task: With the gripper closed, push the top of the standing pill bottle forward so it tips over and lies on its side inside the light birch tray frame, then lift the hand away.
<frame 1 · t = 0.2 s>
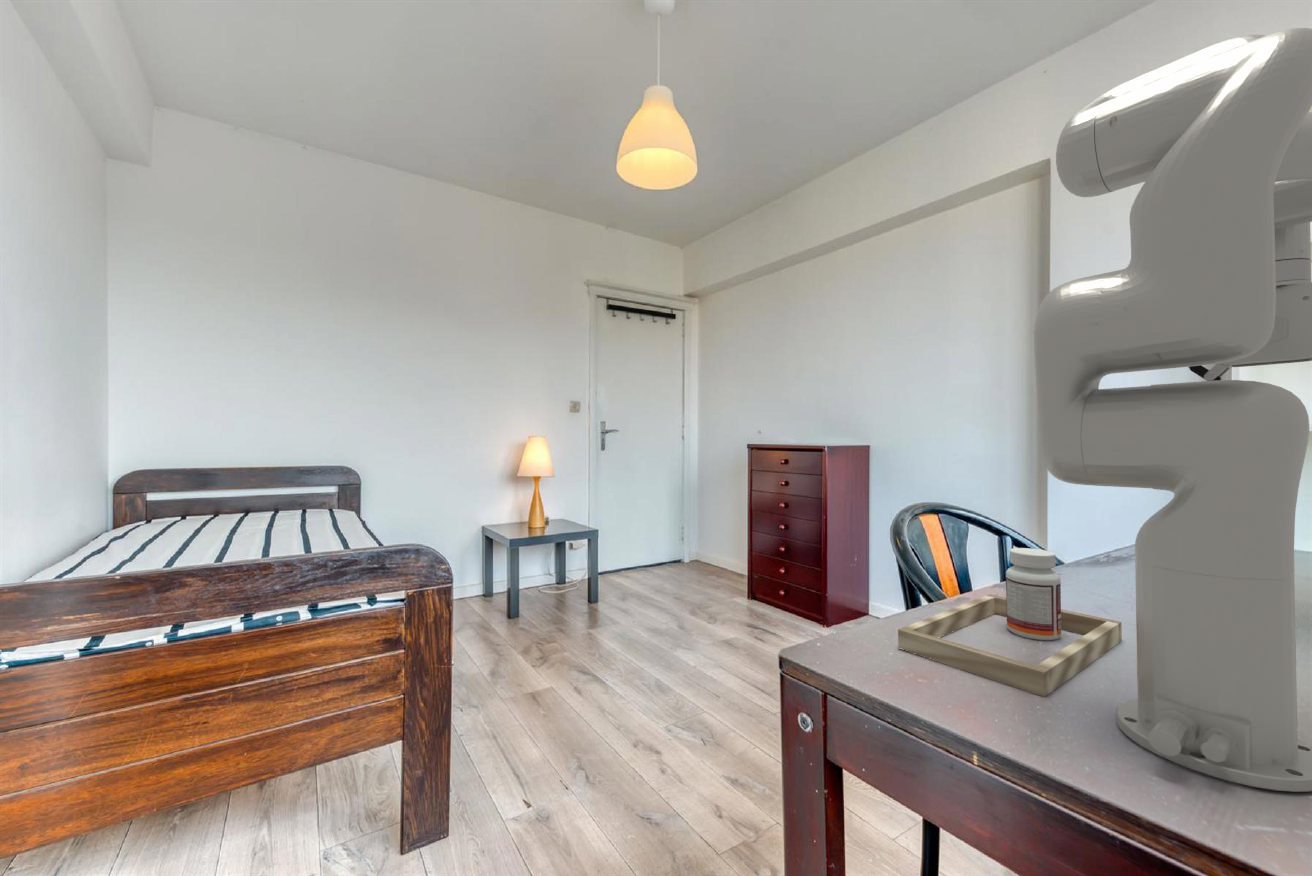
hand: (1270, 406, 72), 31 cm above the table, tool pointing down, fingers open, 9 cm apart
pill bottle: (1033, 634, 73), resting in tray frame
tray frame: (1011, 644, 69), on the table
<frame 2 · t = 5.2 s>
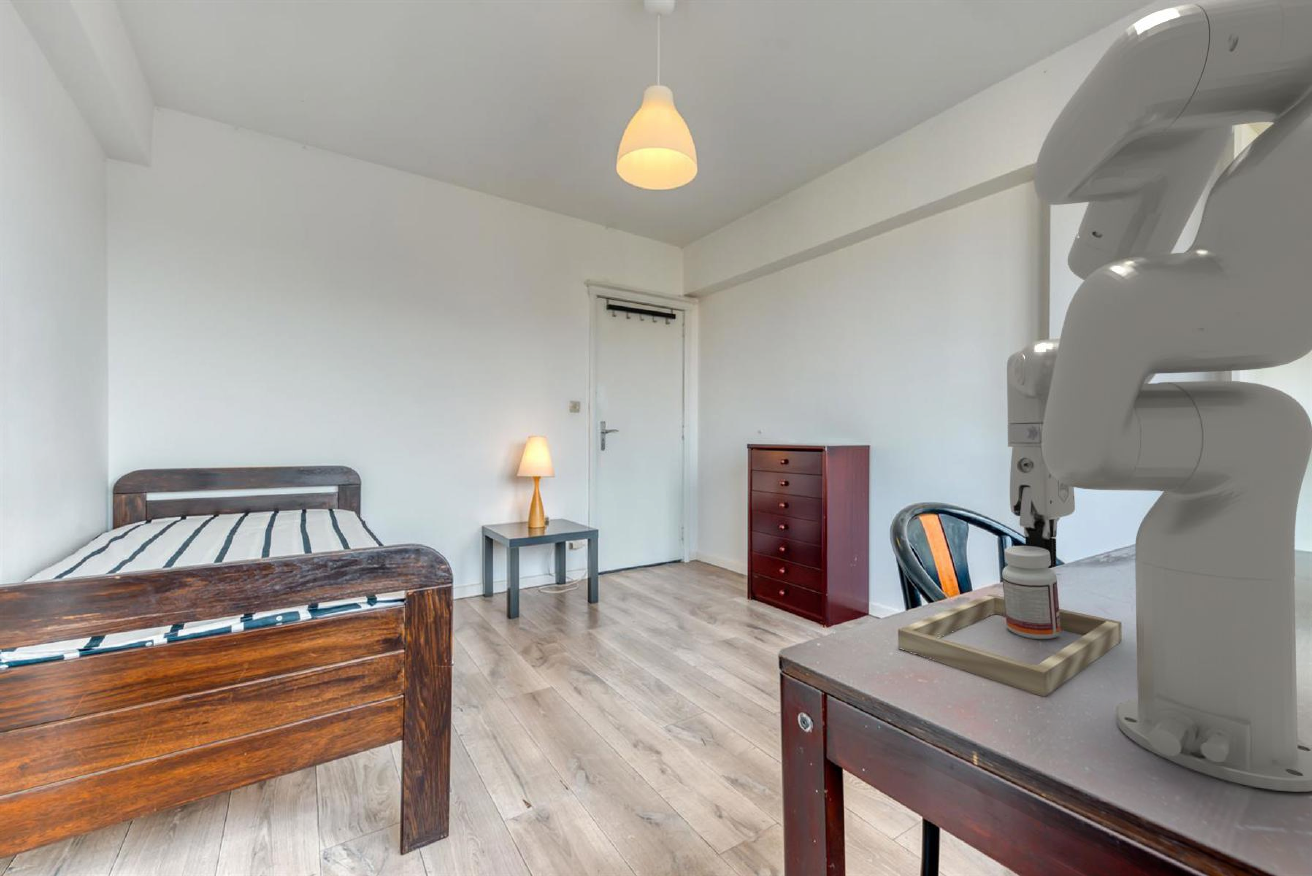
hand: (1040, 565, 75), 9 cm above the table, tool pointing down, fingers closed
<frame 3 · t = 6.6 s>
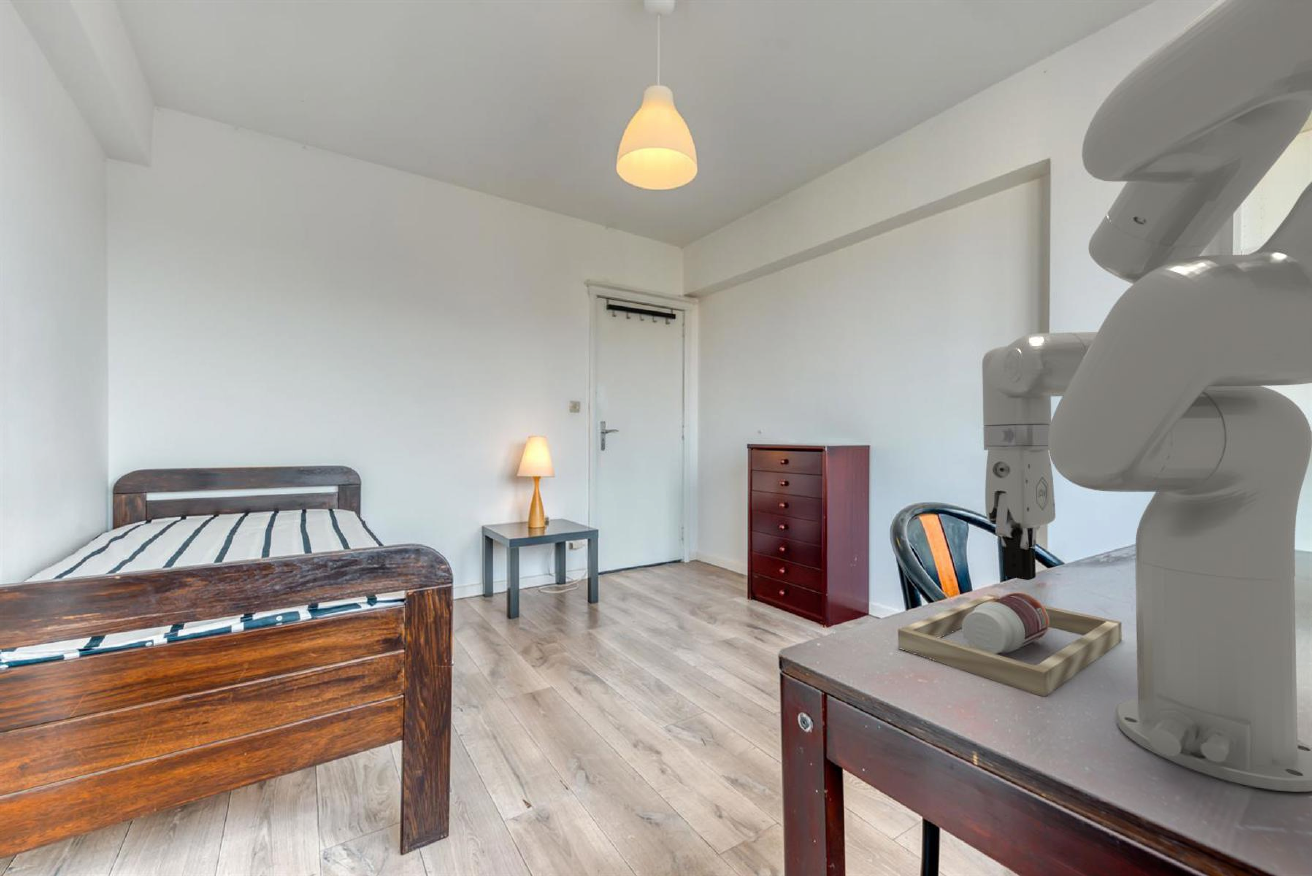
hand: (1019, 577, 70), 8 cm above the table, tool pointing down, fingers closed
pill bottle: (1025, 615, 72), point 3 cm above the table
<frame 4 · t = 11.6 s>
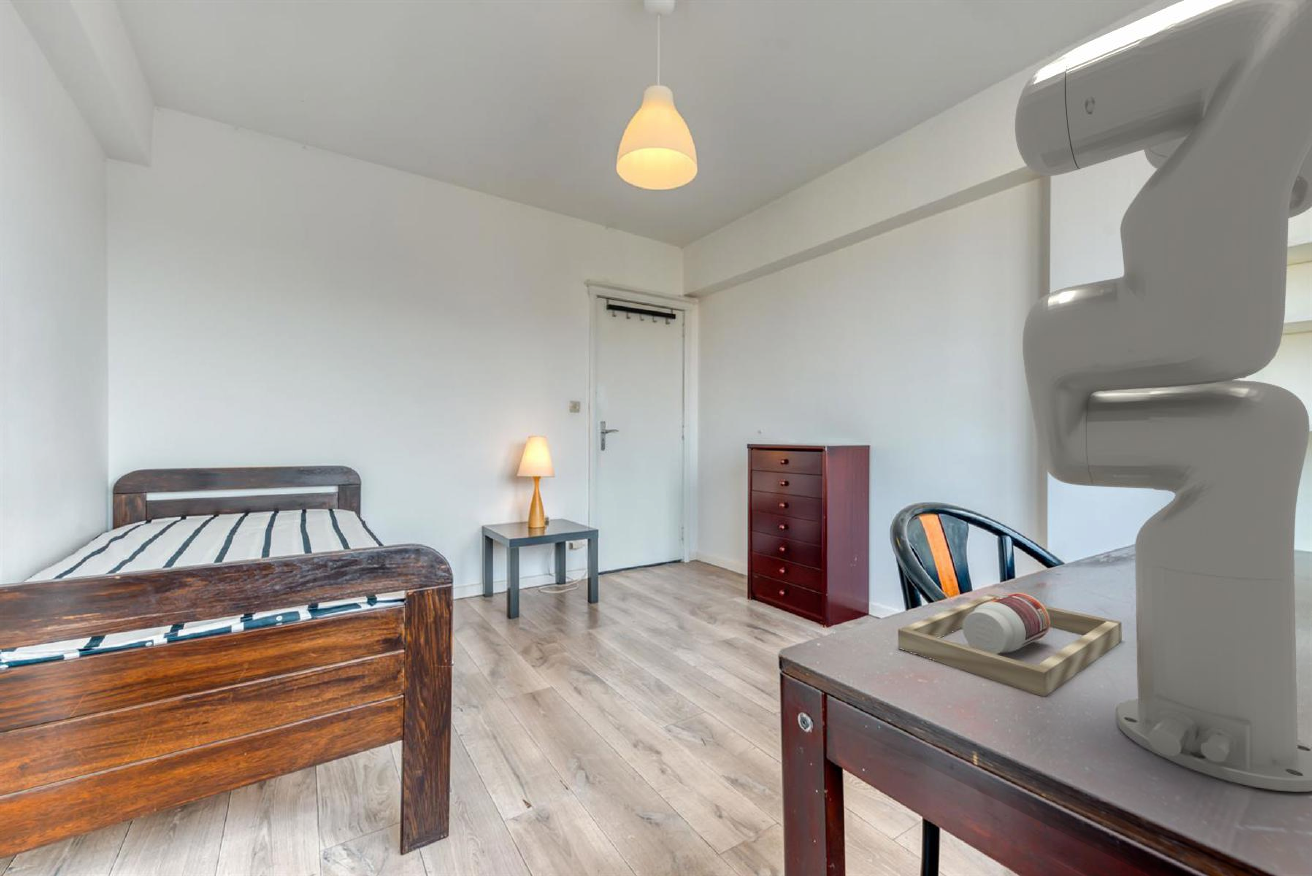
hand: (1212, 434, 67), 27 cm above the table, tool pointing down, fingers closed
nothing on the table moved.
at the end: pill bottle tilted 90°; pill bottle inside the target area (3.7 cm from its centre), point 3.0 cm above the table; the gripper is holding nothing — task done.
